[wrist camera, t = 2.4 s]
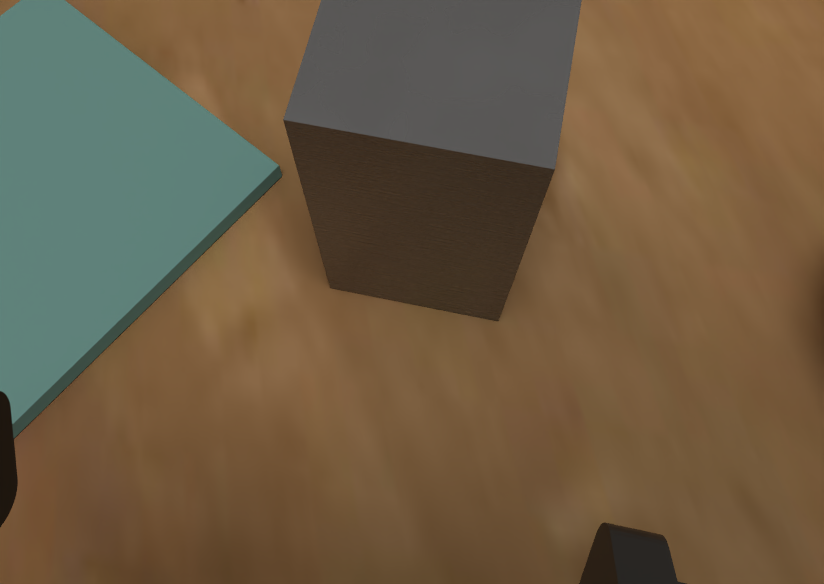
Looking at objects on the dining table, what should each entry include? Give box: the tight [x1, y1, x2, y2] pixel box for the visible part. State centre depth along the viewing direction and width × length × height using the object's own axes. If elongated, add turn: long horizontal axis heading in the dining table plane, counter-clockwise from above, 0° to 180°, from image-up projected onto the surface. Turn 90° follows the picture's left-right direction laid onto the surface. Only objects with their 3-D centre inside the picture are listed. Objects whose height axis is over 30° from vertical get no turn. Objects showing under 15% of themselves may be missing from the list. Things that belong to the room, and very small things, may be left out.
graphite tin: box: [283, 0, 581, 321], centre depth 23 cm, size 6×6×11 cm
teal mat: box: [0, 0, 282, 438], centre depth 28 cm, size 14×14×1 cm
